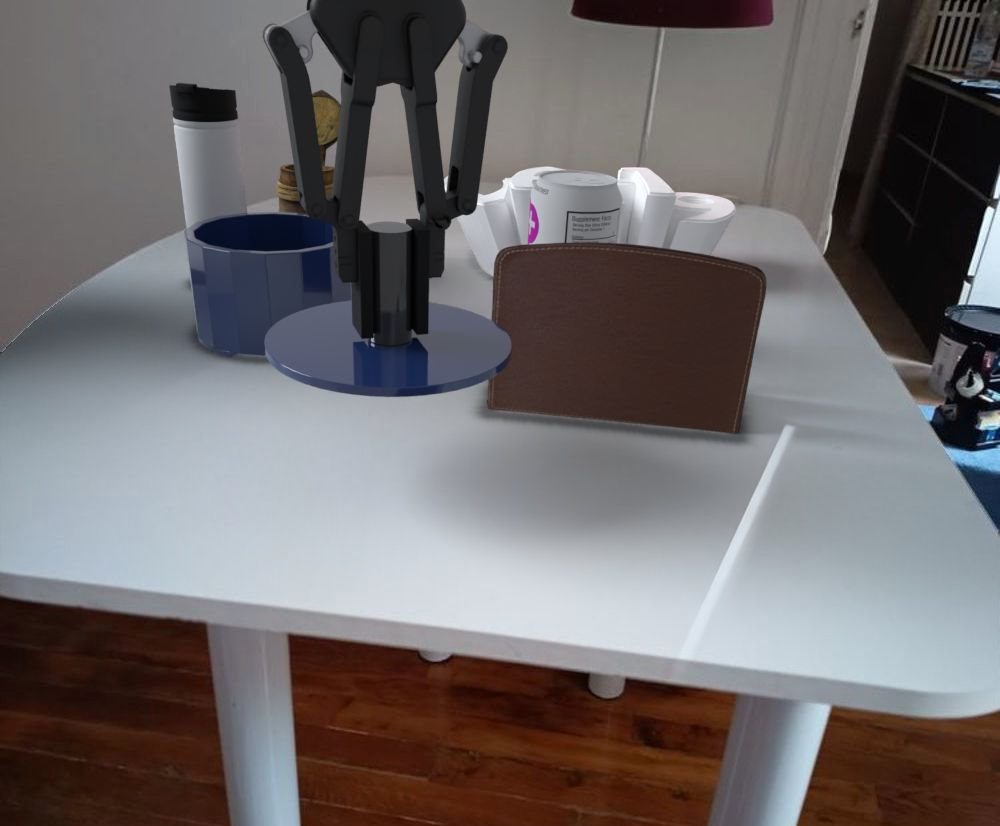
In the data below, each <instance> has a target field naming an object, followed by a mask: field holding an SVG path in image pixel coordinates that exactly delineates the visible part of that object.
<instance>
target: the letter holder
mask: <svg viewBox="0 0 1000 826" xmlns="http://www.w3.org/2000/svg"><path fill="white" fill-rule="evenodd" d="M767 282H768V281H767V277H766V274H765V272H764V271H763V270H762V269H761V268H760V267H758V266H756V265H753V264H750V263H746V262H743V261H737V260H734V259H730V258H725V257H720V256H716V255H712V254H711V255H705V254H700V253H693V252H687V251H680V250H674V249H667V248H659V247H652V246H643V245H633V244H621V243H595V242H585V243H547V244H527V245H516V246H510V247H506V248H504V249H502V250H500V252H499V253H498V254H497V256H496V258H495V262H494V274H493V277H492V301H491V302H492V303H491V306H492V307H491V321H493V322H495V323H496V324H498V325H499V326H500V327H502V328H503V329H504V330H505V331H506V332H507V334H508V335H509V337H510V339H511V341H512V355H511V359H510V361H509V363H508V365H507V366H506V367H505V368H504V369H503V370H502V371H501V372H500V373H498V374H497V375H495V376H494V377H492V378H490V379H488V383H487V384H488V385H487V386H488V387H487V400H486V407H487V409H488V410H493V411H503V412H515V413H523V414H524V413H526V414H533V415H545V416H555V417H564V418H574V419H575V418H576V419H586V420H596V421H603V422H604V421H605V422H617V423H626V424H636V425H645V426H646V425H647V426H656V427H665V428H666V427H667V428H674V429H675V428H676V429H686V430H697V431H704V432H705V431H707V432H715V433H725V434H734V435H737V434H739V432H740V429H741V423H742V418H743V413H744V408H745V407H744V406H745V402H746V397H747V393H748V386H749V382H750V375H751V370H752V367H753V360H754V353H755V347H756V344H757V343H756V342H757V338H758V333H759V329H760V325H761V319H762V315H763V310H764V304H765V300H766V294H767V286H768V285H767V284H768V283H767Z"/></svg>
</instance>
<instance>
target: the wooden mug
mask: <svg viewBox="0 0 1000 826" xmlns="http://www.w3.org/2000/svg"><path fill="white" fill-rule="evenodd" d="M312 98H313V105H314V113H315V120H316V127H317V134H318V142H319V149H320V156H321V163H322V171H323V178H324V185H325V192H326V196H328V197H331V198H332V188H333V178H334V168H335V166H328V165H326V157H327V150H329V148H331V147H332V146H334V145H335V144H337V138H338V128H339V118H340V108H341V102H339V101H338V100H337V99H336V98H335V97H334V96H332V95H331V94H330V93H328V92H326V91H325V90H324V89H319V90H317V91H315V92H312ZM276 183H277V184H276V194H275V195H277V197H278V212H286V213H304V214H307V213H306V211H305V210H304V209H303V207H302V206H301V204H300V201H299V195H298V188H297V182H296V175H295V169H294V163H287V164H283V165H281V166H280V167H279V178H278V179H277V181H276Z"/></svg>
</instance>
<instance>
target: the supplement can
mask: <svg viewBox="0 0 1000 826" xmlns="http://www.w3.org/2000/svg"><path fill="white" fill-rule="evenodd" d="M617 179H618V178H616V177H614V176H612V175H610V174H606V173H601V172H595V171H587V170H575V169H564V170H557V171H548V172H543V173H541V174H540V175H539V179H538V180H537V182H536V184H535V186H534V187H533V189H532V191H531V195H530V212H529V229H528V244H547V243H585V242H595V243H618V237H619V228H620V219H621V209H622V200H623V199H622V196H621V193H620V191H619V188H618V185H617Z"/></svg>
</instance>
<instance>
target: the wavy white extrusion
mask: <svg viewBox="0 0 1000 826" xmlns="http://www.w3.org/2000/svg"><path fill="white" fill-rule="evenodd" d="M557 170H565V169H564V168H560V167H555V166H539V167H538V166H537V167H531V168H526V169H523V170H520V171H517V172H516V173H515V174H514V175H512V177H504V179H502V184H503V185H502V187H501V188H500V189H498V190H496V191H494V192H492V193H491V192H490V193H488V194H481V193H478V200H477V207H476V210H475V211H474V212H473V213H472V214H471V215H461V216H459V217H456V220H457V222H458V223H459V225H460V228H461V230H462V232H463V234H464V236H465V238H466V240H467V243H468V245H469V247H470V249H471V251H472V254H473V255H474V258H475V259H476V262H477V264H478V265H479V267H480V268H481V270H482V271H484V273H486V274H488V275H489V276H490V277H492V278H493V274H494V262H495V258H496V256H497V254H498V253H499V252H500V250H502V249H504V248H506V247H510V246H516V245H527V244H528V229H529V212H530V195H531V191H532V189H533V187H534V186H535V184H536V182H537V180H538V179H539V175H540V174H541V173H543V172H548V171H557ZM616 179H617V185H618V188H619V191H620V193H621V196H622V199H623V200H622V209H621V219H620V228H619V237H618V243H621V244H633V245H643V246H652V247H659V248H667V249H674V250H680V251H687V252H693V253H700V254H705V255H711V256H712V254H713V252H714V250H715V249H716V247H717V245H719V242H720V240H721V239H722V237H723V235H724V234H725V232H726V230H727V228H728V227H729V226H730V223H731V222H732V220H733V218H734V216H735V215H736V213H737V207H736V205H735V204H734V203H733V201H731V200H730V199H727V198H726V197H721V196H718V195H714V194H708V193H701V192H700V193H699V192H685V191H684V192H683V191H681V192H680V191H679V192H678V191H674V190H673V189H672V188H671V186H670V185H669V184H668V183H667V182H665V180H663V178H661V177H660V176H659V175H658V174H656V173H655V172H654V171H653V170H652V169H650V168H648V167H637V166H636V167H631V166H629V167H621V168H620V169H618V171H617V178H616ZM447 182H448V175H447V176H445V177H444V184H445V192H446V190H447Z"/></svg>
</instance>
